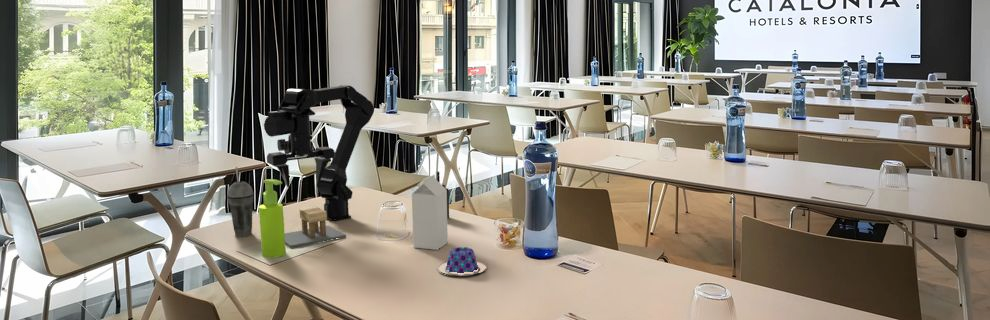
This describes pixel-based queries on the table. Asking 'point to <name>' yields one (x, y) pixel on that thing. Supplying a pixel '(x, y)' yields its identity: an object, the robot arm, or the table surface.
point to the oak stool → (313, 221)
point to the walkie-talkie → (447, 194)
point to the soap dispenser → (272, 222)
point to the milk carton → (429, 215)
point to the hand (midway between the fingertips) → (303, 184)
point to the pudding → (461, 260)
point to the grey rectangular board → (302, 239)
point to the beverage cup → (241, 207)
